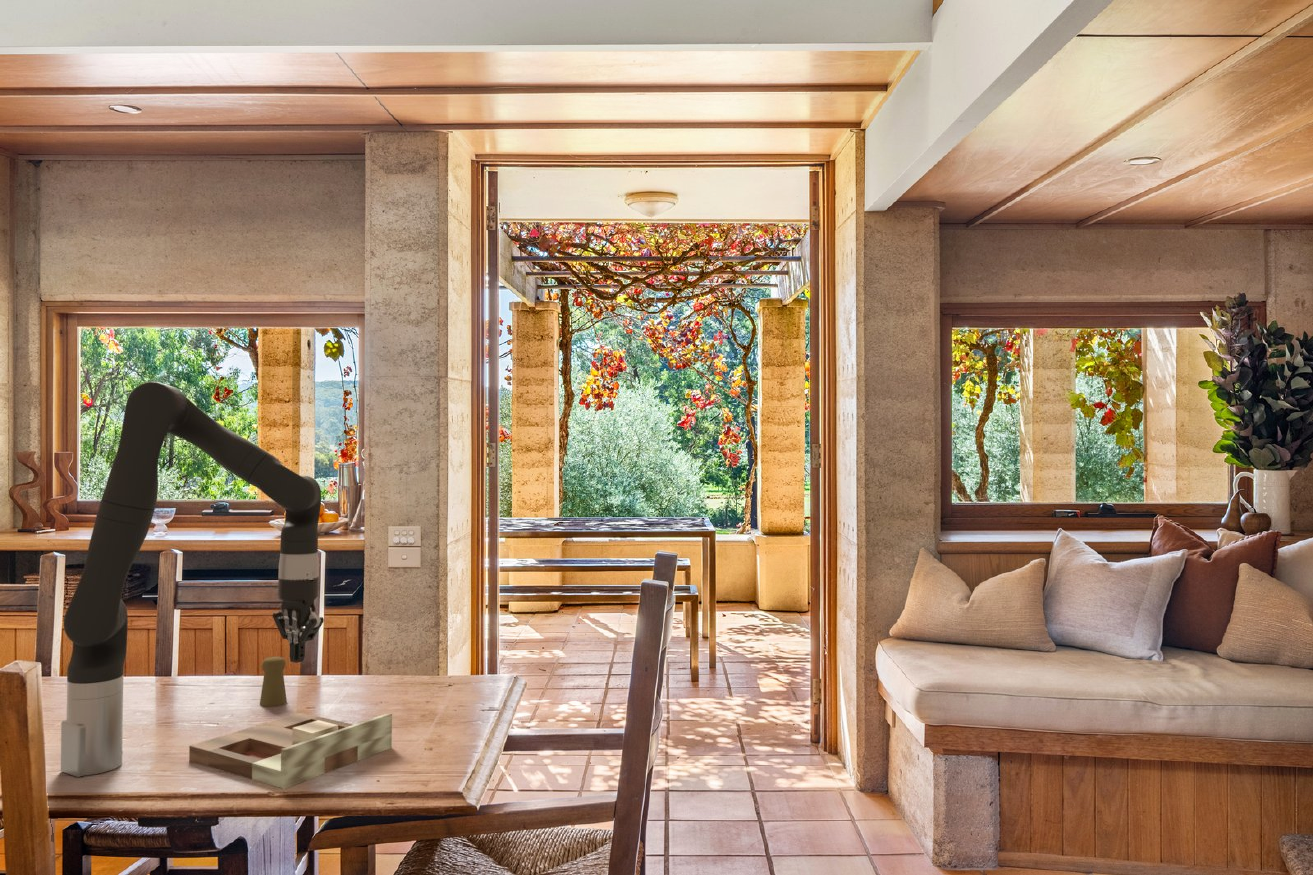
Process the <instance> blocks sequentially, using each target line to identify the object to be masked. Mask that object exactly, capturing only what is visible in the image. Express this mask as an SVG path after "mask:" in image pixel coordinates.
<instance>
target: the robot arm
mask: <svg viewBox="0 0 1313 875" xmlns="http://www.w3.org/2000/svg"><path fill="white" fill-rule="evenodd" d="M167 434H171V435H174V436H176V437H177V438H180V439H181V440H184V441H186V442H188V443H190V444H192V445H193V446H195V447H197V448H198V449H200V450H201V451H203V452H204V453H205V454H207V455H208V456H209V457H210V458H211V459H213V460H214V461H215V462H217V463H218V465H220V466H221V467H223V468H224V469H225V470H227V471H228V472H230V473H231V474H233V475H235V476H236V477H238V478H239V479H241V480H242V481H245V482H246V483H247V484H249V485H250V486H253V487H255V488H257V489H259V490H260V491H261V492H262V493H264V495H265V496H267V497H268V498H269V499H271V500H272V501H273V502H275V504H278V506H280V507H282V508H284V509H285V515H284V525H282V527H281V528H282V529H281V532H280V544H279V545H280V547H279V549H280V550H279V552H280V555H279V562H278V583H277V584H278V586H277V587H278V588H277V589H278V590H277V591H278V592H277V597H278V600H280V601H281V603H280V610H279V611H278V612H274V613H273V614H272V619H273V621H274V623H275V626H276V627H277V629H278V632H279V633H280V636H281V638H282V639H283V640H287V643H288V644H289V656H288V657H289V661H290V662H291V663H294V664H298V663H301V662H304V660H305V656H306V654H305V653H306V643H307V642H309V641H313V640H314V638H315V637H316V635H317V634H318V632H319V630H320V628H321V626H322V625H323V623H324V620H325V619H324V617H322V616H320V617H319V616H318V614H316V610H317V609H316V605H315V600H316V599H317V598H318V597H319V572H320V570H319V569H320V566H319V564H320V563H319V562H320V560H319V553H318V550H319V532H318V528H319V521H320V513H321V506H322V489H321V486H320V484H319V483H318V482H317V480H316V479H315V478H313V477H311V476H308V475H300V474H298V473H297V472H294V471H293V470H291V469H290V468H288V467H286V466H285V465H283V464H282V463H281V461H280V460H279V459H278V458H277V457H275V456H274V455H272V454H271V453H270V452H268V451H266V450H265V449H263V448H261V447H259V445H256V444H254V443H253V442H251V441H250V440H248V439H247V438H245V437H243V436H242V435H239V434H237V433H236V432H234V431H232V430H231V429H229V428H227V427H225V426H224V425H222V424H221V423H219V422H218V421H217V420H215V419H213V418H212V417H211V416H210V415H208V414H207V413H205V412H204V411H203V410H202V409H201V408H199V407H198V406H197V405H196V404H195V403H193V402H192V401H191V400H190V399H189V398H188V397H186V395H185V394H184V393H182V392H181V391H180V390H179V389H178V388H177V387H175V386H172V385H171V384H170V385H169V384H166V383H164V382H158V381H147V382H143V383H141V384H139V385H137V386H136V387H134V389H133V390H132V391H131V392H130V394H129V396H128V397H127V401H126V403H125V408H124V414H123V421H122V427H121V432H120V438H119V443H118V447H117V451H116V454H115V457H114V460H113V463H112V465H111V469H110V471H109V475H108V479H107V481H106V484H105V488H104V490H103V493H102V496H101V499H100V503H99V506H98V510H97V511H96V512H97V513H96V515H95V519H94V524H93V529H92V532H91V536H90V540H89V544H88V548H87V553H86V559H85V563H84V566H83V571H82V574H81V576H80V579H79V582H78V584H77V585H76V588H75V591H74V592H73V595H72V598H71V601H70V602H69V605H68V607H67V609H66V612H65V614H64V618H63V630H64V632H65V635H66V637H67V638H68V639H69V640H70V641H71V643H72V651H71V655H70V656H71V657H70V659H69V662H68V666H67V671H66V719H65V720H62V721H61V725H60V726H61V727H60V772H61V773H64V774H68V775H71V776H74V777H75V778H76V777H77V778H80V777H82V776H83V777H84V776H89V775H97V774H102V773H105V772H108V771H111V770H114V769H116V768H119V767H121V765H122V764H123V753H124V752H123V733H124V732H123V729H124V727H123V726H124V725H123V723H124V722H123V721H124V718H123V717H124V666H125V661H126V658H127V652H128V651H127V647H128V643H127V642H128V622H129V621H128V620H129V619H128V616H129V615H128V610H127V606H126V604H125V602H124V600H123V599H122V595H123V592H124V586H125V583H126V579H127V576H128V575H129V571H130V569H131V567H132V565H133V564H134V562H135V560H136V557H137V556H138V554H139V553H140V550H141V548H142V546H143V543H144V542H145V539H146V538H147V535H148V533H149V530H150V527H151V523H152V520H153V517H154V513H155V509H156V505H157V500H158V495H159V494H158V492H159V458H160V453H161V451H162V447H163V444H164V442H165V439H166V437H167Z"/></svg>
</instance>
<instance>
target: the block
mask: <svg viewBox="0 0 1313 875" xmlns="http://www.w3.org/2000/svg"><path fill="white" fill-rule="evenodd" d="M336 730H338V725H335V724H331V723H328V722H324V721H320V720H317V721H314V722H311V723H307V724H304V725H300V726H297V727H294V728H292V745H295V744H298V743H301V742H304V741H307V740H310V739H313V738H316V737H319V736H322V735H325V734H328V733H331V732H334V731H336Z"/></svg>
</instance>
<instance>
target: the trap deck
mask: <svg viewBox="0 0 1313 875" xmlns="http://www.w3.org/2000/svg"><path fill="white" fill-rule="evenodd" d="M317 720H320V721H324V722H328V723H331V724H335V725H338V730H336V731H334V732H331V733H328V734H325V735H322V736H319V737H316V738H313V739H310V740H307V741H304V742H301V743H298V744H295V745H292V728H294V727H297V726H300V725H304V724H307V723H311V722H314V721H317ZM392 735H393V713H389V712H388V713H385V714H381V715H378V716H376V717H371V718H370V719H367V720H364V721H360V722H358V723H355V724H353V723H348V722H344V721H339V720H335V719H332V718H331V719H330V718H327V717H326V718H325V717H322V716H318V715H314V714H309V713H305V712H296V713H293V714H290V715H287V716H283V717H280V718H277V719H274V720H270V721H267V722H264V723H263V722H262V723H261V724H258V725H254V726H250V727H248V728H244V729H240V730H238V731H234V732H230V733H226V734H224V735H220V736H217V737H214V738H211V739H207V740H204V741H201V742H197V743H194V744H191V745H189V750H188V752H189V755H188V756H189V757H188V759H189V761H188V762H191V763H195V764H199V765H202V766H205V767H208V768H213V769H215V770H218V769H219V771H221V772H225V773H228V774H233V775H235V776H240V777H242V778H246V779H249V780H251V781H252V780H253V781H256V782H259V783H263V784H267V785H270V786H273V787H277V788H280V789H283V790H285V789H288V788H290V787H294V786H296V785H298V784H300V783H303V782H307V781H309V780H311V779H314V778H316V777H319V776H321V775H324V774H327V773H330V772H333V771H335V770H338V769H340V768H342V767H345V766H347V765H351V764H353V763H356V762H358V761H360V760H361V761H362V760H363V759H367V758H368V757H371V756H373V755H376V754H379V753H383V752H385V751H386V750H389V749H391V748H392V744H393V741H392V740H393V739H392V738H393V737H392Z"/></svg>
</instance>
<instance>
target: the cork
mask: <svg viewBox="0 0 1313 875" xmlns="http://www.w3.org/2000/svg"><path fill="white" fill-rule="evenodd" d="M261 668H262V670H263V672H264V673H263V680H262V687H261V693H260V698H259V706H260V707H264V708H272V707H280V706H284V705H286V704H287V703H288V702H287V701H288V698H287V695H286V694H287V693H286V684H285V676H284V670H285V668H286V660H285V658H284V657H281V656H271V657H266V658H265V659H264V660H263V661H262V663H261Z"/></svg>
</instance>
